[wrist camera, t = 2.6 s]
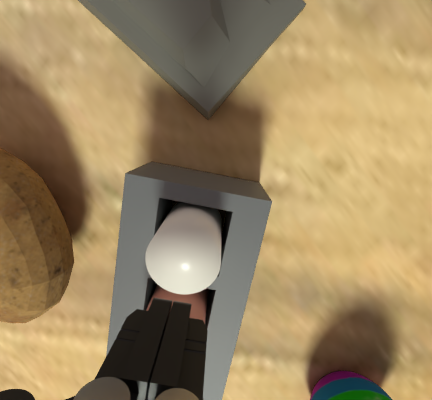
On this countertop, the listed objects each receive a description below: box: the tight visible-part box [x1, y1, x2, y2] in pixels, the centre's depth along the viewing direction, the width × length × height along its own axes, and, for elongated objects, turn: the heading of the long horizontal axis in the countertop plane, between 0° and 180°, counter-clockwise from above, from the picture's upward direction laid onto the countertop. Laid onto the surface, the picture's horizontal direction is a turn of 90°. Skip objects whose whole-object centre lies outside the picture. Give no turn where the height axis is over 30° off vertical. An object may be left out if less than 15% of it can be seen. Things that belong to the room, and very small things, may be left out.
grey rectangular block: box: [106, 162, 272, 400], centre depth 21 cm, size 18×9×6 cm, turn 169°
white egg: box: [145, 202, 222, 294], centre depth 17 cm, size 4×4×6 cm
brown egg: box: [146, 284, 208, 324], centre depth 19 cm, size 4×4×6 cm
